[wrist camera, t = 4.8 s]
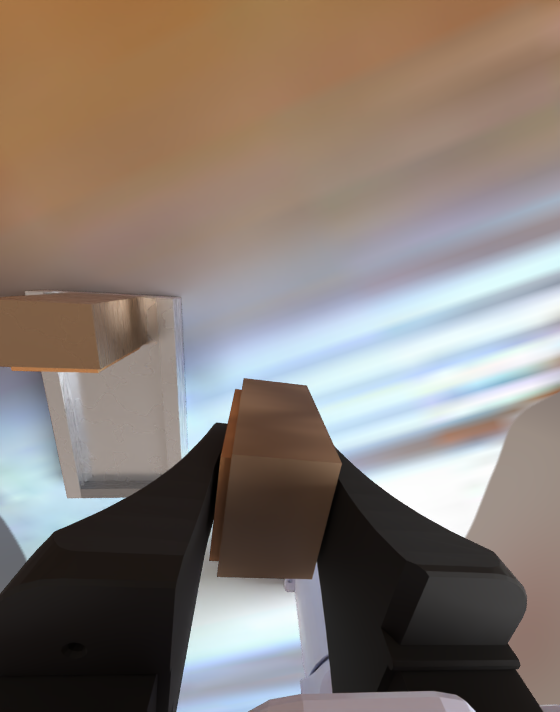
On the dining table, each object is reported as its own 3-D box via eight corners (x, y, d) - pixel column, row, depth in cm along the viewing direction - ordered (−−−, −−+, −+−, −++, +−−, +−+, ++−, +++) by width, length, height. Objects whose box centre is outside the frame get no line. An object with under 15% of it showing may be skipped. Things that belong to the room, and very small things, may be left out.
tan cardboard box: (306, 385, 12) (341, 463, 7) (291, 463, 14) (312, 579, 8) (237, 377, 12) (220, 453, 7) (227, 458, 13) (206, 576, 8)
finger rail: (189, 479, 22) (161, 559, 16) (82, 480, 21) (9, 564, 15) (181, 297, 18) (139, 306, 12) (48, 289, 17) (-74, 295, 11)
